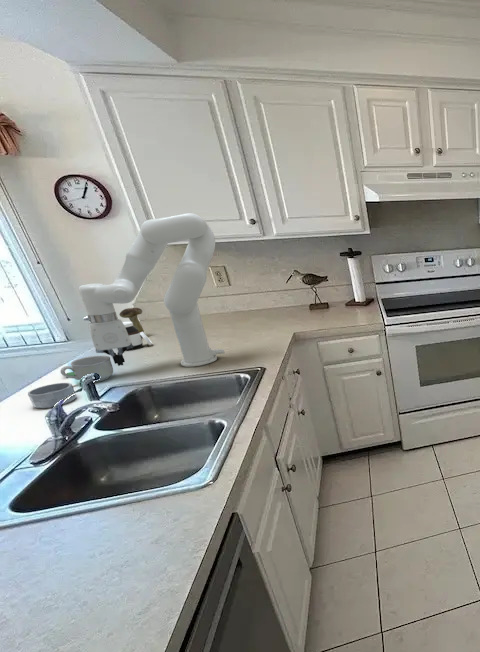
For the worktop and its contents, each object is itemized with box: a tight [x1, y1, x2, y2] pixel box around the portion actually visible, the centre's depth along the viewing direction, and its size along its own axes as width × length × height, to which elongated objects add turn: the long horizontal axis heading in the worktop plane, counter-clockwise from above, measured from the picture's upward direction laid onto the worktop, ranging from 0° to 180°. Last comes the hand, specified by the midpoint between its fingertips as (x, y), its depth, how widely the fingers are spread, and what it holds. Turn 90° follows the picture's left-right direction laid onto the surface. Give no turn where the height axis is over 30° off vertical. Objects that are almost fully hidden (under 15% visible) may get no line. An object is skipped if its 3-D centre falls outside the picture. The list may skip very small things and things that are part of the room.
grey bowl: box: [27, 382, 77, 409], centre depth 136 cm, size 10×10×5 cm
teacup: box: [60, 355, 114, 383], centre depth 152 cm, size 14×11×8 cm
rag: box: [65, 371, 76, 379], centre depth 160 cm, size 7×5×1 cm
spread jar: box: [122, 321, 154, 351], centre depth 189 cm, size 12×11×12 cm
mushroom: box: [119, 307, 145, 338], centre depth 203 cm, size 9×9×15 cm
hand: (120, 364), depth 158 cm, fingers closed
